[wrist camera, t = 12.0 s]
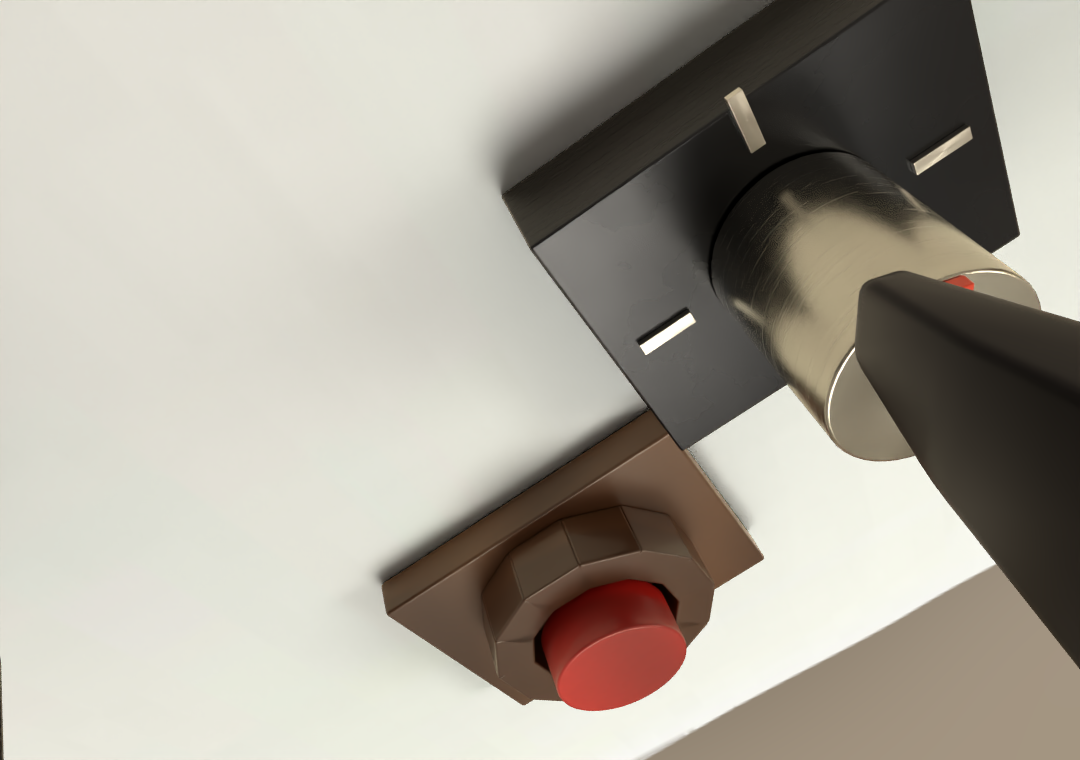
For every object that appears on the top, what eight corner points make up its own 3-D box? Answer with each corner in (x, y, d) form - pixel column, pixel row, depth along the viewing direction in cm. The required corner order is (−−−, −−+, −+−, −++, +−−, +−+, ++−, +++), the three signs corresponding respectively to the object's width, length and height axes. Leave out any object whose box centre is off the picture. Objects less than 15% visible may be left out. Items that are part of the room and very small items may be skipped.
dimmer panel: (652, 400, 25) (689, 462, 23) (493, 185, 20) (524, 242, 18) (960, 199, 24) (1027, 246, 22) (882, -93, 18) (963, -66, 16)
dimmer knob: (881, 290, 22) (1031, 428, 18) (715, 347, 21) (830, 501, 17) (895, 124, 19) (1079, 245, 15) (704, 186, 18) (839, 327, 14)
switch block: (515, 678, 32) (537, 754, 30) (379, 584, 27) (394, 667, 25) (749, 533, 31) (791, 601, 28) (654, 404, 25) (697, 475, 23)
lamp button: (579, 678, 28) (597, 727, 27) (515, 629, 26) (532, 680, 24) (684, 614, 28) (707, 661, 26) (629, 558, 25) (652, 606, 24)
